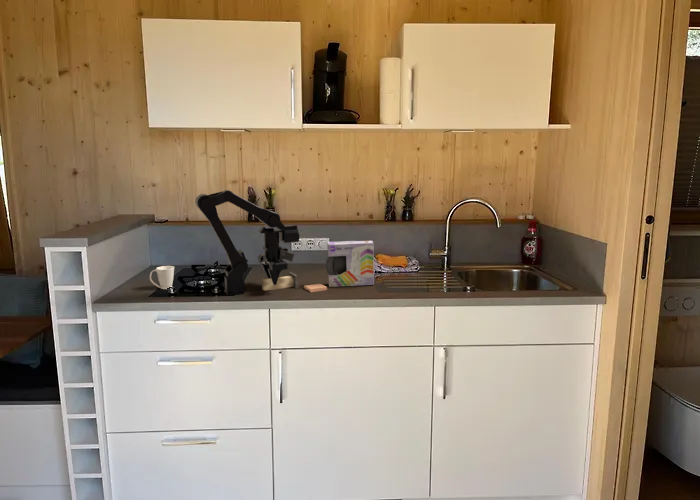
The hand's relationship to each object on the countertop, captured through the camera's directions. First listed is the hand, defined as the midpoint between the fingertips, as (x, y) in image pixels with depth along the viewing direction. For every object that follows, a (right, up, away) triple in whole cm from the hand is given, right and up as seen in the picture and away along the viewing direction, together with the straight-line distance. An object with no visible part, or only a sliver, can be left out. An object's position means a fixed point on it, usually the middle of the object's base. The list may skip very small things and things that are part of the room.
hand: (273, 283), depth 195 cm
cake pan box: (+30, -1, +6) cm, 30 cm away
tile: (+14, -2, -2) cm, 14 cm away
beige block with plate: (+2, -2, +2) cm, 3 cm away
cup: (-43, -2, +2) cm, 43 cm away
